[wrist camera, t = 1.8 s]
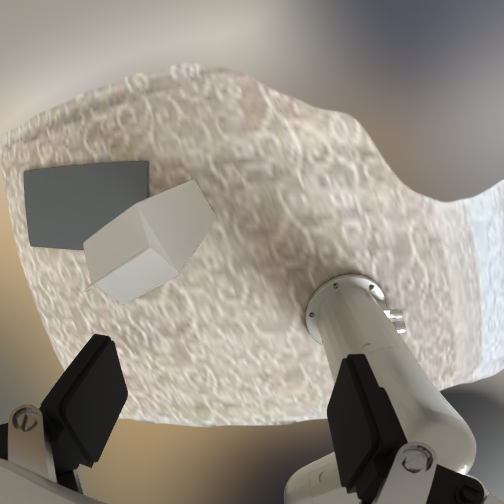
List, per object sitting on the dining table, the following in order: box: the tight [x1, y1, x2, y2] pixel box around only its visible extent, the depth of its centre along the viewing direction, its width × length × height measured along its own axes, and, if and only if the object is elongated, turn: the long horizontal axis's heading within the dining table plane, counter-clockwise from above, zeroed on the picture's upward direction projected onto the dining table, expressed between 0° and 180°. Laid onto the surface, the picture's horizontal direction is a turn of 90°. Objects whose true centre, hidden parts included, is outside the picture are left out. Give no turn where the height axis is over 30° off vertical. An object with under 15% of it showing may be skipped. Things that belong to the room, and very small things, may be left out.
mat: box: [24, 161, 149, 250], centre depth 38 cm, size 24×13×1 cm, turn 87°
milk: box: [83, 179, 217, 305], centre depth 28 cm, size 6×6×22 cm
